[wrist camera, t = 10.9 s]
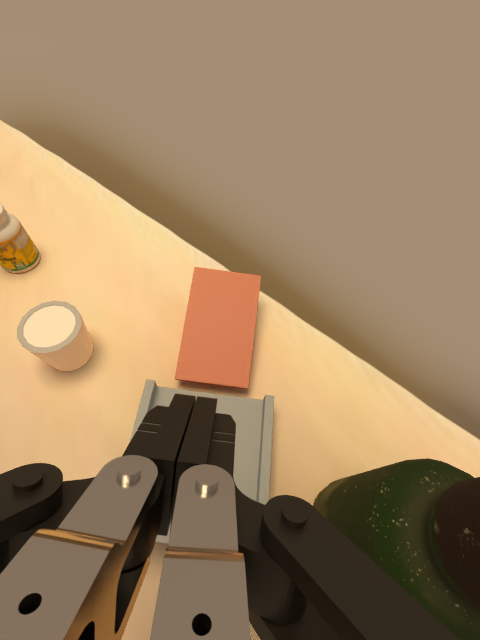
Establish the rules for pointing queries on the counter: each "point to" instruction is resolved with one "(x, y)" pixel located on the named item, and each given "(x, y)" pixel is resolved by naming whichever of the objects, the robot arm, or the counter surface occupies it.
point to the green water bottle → (417, 533)
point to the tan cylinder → (56, 335)
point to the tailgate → (219, 328)
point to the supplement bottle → (16, 245)
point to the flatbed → (249, 436)
